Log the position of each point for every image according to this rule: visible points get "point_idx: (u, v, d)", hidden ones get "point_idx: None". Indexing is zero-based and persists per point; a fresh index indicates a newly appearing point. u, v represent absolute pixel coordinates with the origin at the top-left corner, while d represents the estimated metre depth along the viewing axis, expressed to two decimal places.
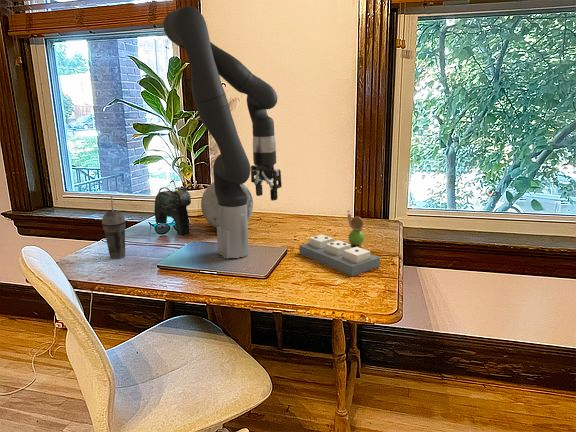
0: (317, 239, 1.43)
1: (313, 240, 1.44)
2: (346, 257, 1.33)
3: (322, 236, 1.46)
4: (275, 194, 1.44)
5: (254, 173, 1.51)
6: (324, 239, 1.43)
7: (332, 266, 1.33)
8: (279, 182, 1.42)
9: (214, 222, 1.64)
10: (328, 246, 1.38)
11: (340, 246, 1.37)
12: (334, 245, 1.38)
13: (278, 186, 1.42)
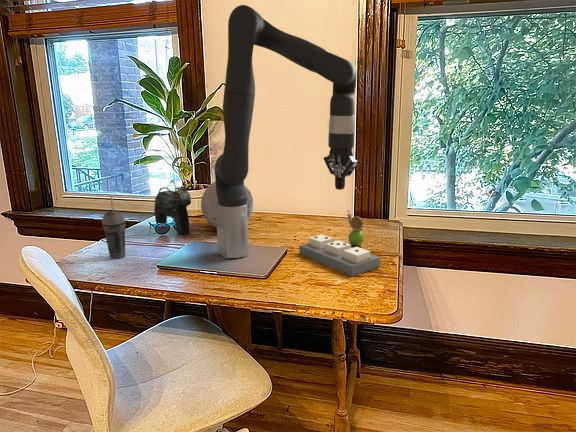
0: (317, 239, 1.43)
1: (313, 240, 1.44)
2: (346, 257, 1.33)
3: (322, 236, 1.46)
4: (343, 183, 1.32)
5: (330, 163, 1.34)
6: (324, 239, 1.43)
7: (332, 266, 1.33)
8: (350, 171, 1.30)
9: (214, 222, 1.64)
10: (328, 246, 1.38)
11: (340, 246, 1.37)
12: (334, 245, 1.38)
13: (347, 175, 1.30)
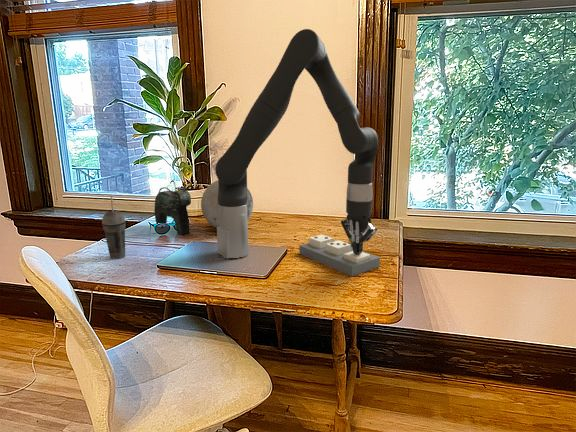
0: (317, 239, 1.43)
1: (313, 240, 1.44)
2: None
3: (322, 236, 1.46)
4: (361, 248, 1.31)
5: (347, 227, 1.33)
6: (324, 239, 1.43)
7: (332, 266, 1.33)
8: (368, 237, 1.29)
9: (214, 222, 1.64)
10: (328, 246, 1.38)
11: (340, 246, 1.37)
12: (334, 245, 1.38)
13: (365, 241, 1.29)
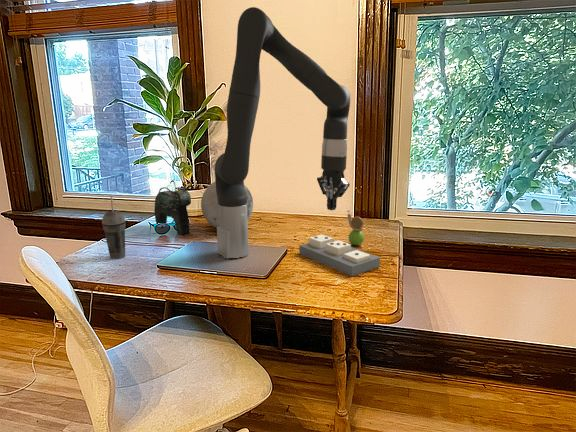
0: (317, 239, 1.43)
1: (313, 240, 1.44)
2: None
3: (322, 236, 1.46)
4: (334, 204, 1.35)
5: (323, 184, 1.38)
6: (324, 239, 1.43)
7: (332, 266, 1.33)
8: (341, 193, 1.33)
9: (214, 222, 1.64)
10: (328, 246, 1.38)
11: (340, 246, 1.37)
12: (334, 245, 1.38)
13: (338, 196, 1.33)
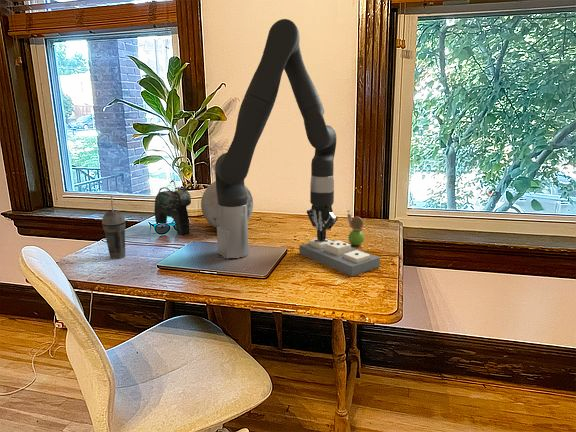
0: (317, 242, 1.44)
1: (313, 243, 1.44)
2: None
3: None
4: (324, 235, 1.44)
5: (312, 216, 1.46)
6: (324, 242, 1.43)
7: (332, 266, 1.33)
8: None
9: (214, 222, 1.64)
10: (328, 246, 1.38)
11: (340, 246, 1.37)
12: (334, 245, 1.38)
13: (327, 229, 1.42)
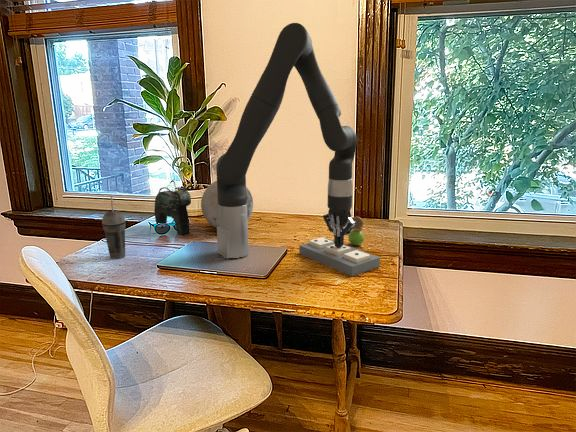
0: (317, 242, 1.44)
1: (313, 243, 1.44)
2: None
3: (322, 239, 1.47)
4: (341, 241, 1.37)
5: (329, 221, 1.40)
6: (324, 242, 1.43)
7: (332, 266, 1.33)
8: (348, 230, 1.35)
9: (214, 222, 1.64)
10: (328, 249, 1.39)
11: (340, 249, 1.37)
12: (334, 248, 1.38)
13: (346, 234, 1.36)
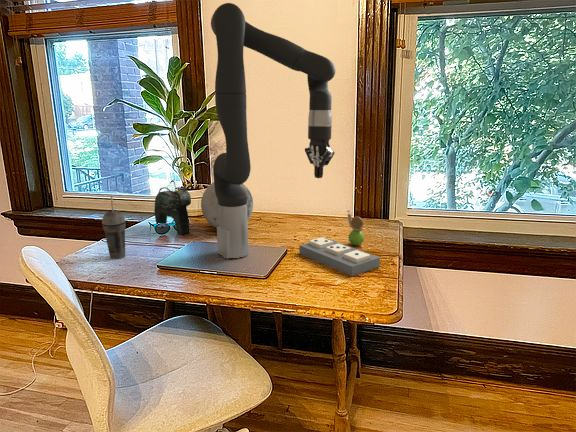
0: (317, 242, 1.44)
1: (313, 243, 1.44)
2: None
3: (322, 239, 1.47)
4: (321, 172, 1.44)
5: (310, 154, 1.47)
6: (324, 242, 1.43)
7: (332, 266, 1.33)
8: (327, 161, 1.42)
9: (214, 222, 1.64)
10: (328, 249, 1.39)
11: (340, 249, 1.37)
12: (334, 248, 1.38)
13: (324, 164, 1.43)
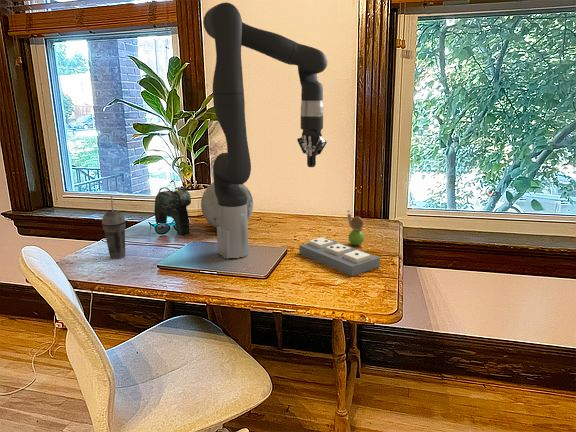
0: (317, 242, 1.44)
1: (313, 243, 1.44)
2: None
3: (322, 239, 1.47)
4: (313, 161, 1.49)
5: (303, 144, 1.51)
6: (324, 242, 1.43)
7: (332, 266, 1.33)
8: (320, 150, 1.47)
9: (214, 222, 1.64)
10: (328, 249, 1.39)
11: (340, 249, 1.37)
12: (334, 248, 1.38)
13: (317, 154, 1.47)
